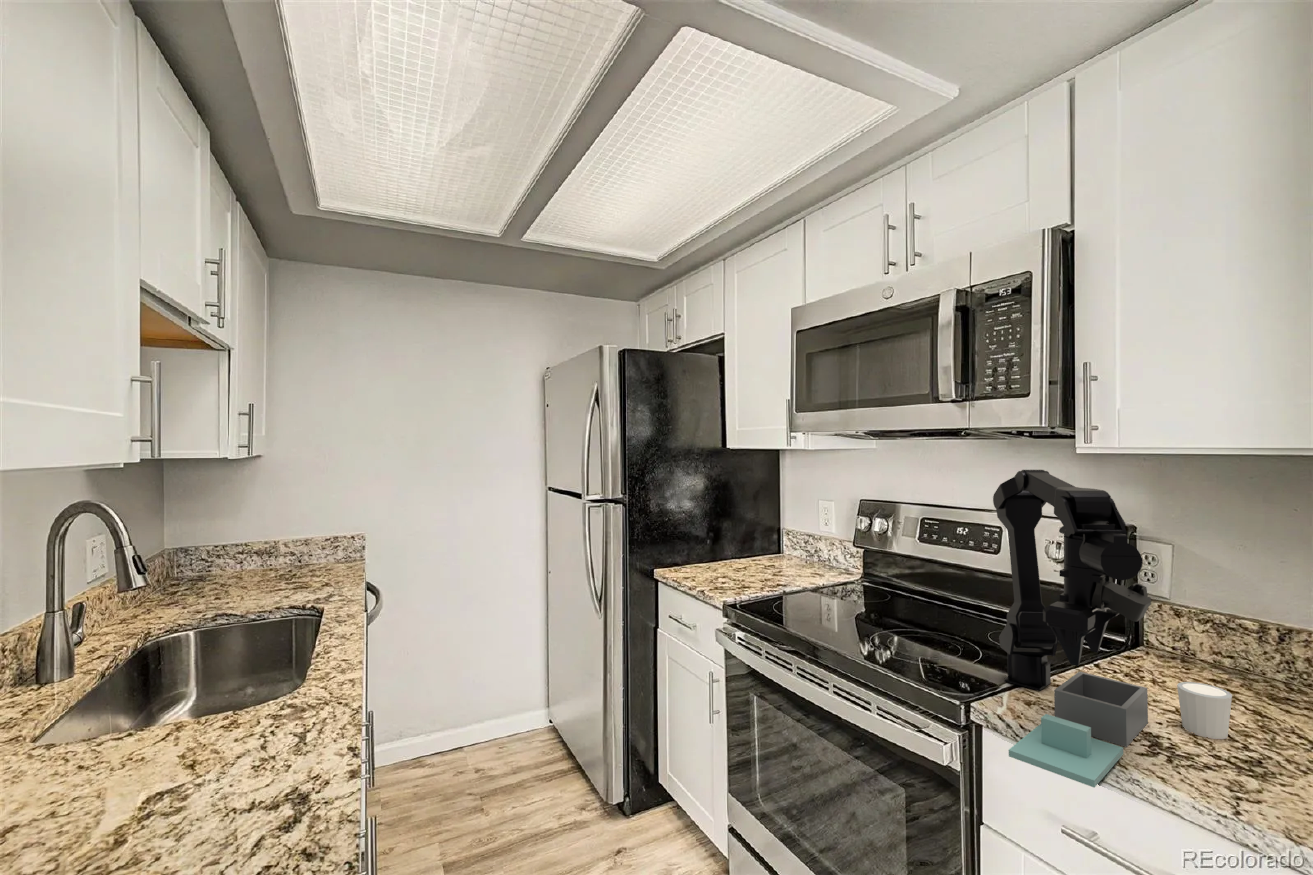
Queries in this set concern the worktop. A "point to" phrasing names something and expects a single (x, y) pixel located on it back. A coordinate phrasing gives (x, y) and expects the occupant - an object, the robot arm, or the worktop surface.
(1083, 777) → the lid
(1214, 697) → the white cup
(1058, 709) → the tub
